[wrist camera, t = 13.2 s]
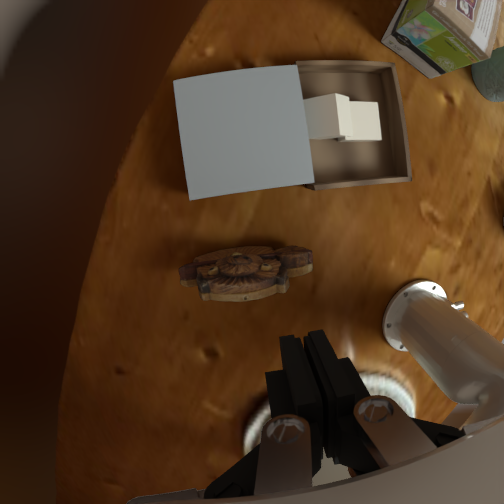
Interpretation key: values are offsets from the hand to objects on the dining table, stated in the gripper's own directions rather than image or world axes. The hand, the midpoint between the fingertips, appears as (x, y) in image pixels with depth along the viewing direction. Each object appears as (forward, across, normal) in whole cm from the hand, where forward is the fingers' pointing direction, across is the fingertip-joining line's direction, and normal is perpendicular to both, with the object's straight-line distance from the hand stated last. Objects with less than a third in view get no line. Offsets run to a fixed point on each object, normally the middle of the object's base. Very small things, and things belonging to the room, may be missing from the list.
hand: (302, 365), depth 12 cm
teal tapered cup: (+31, -44, -21) cm, 58 cm away
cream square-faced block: (+28, -15, -12) cm, 33 cm away
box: (+31, -14, -12) cm, 36 cm away
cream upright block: (+27, -9, -13) cm, 31 cm away
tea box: (+31, -30, -28) cm, 52 cm away
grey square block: (+31, 0, -12) cm, 33 cm away
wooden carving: (+31, +2, +4) cm, 32 cm away
